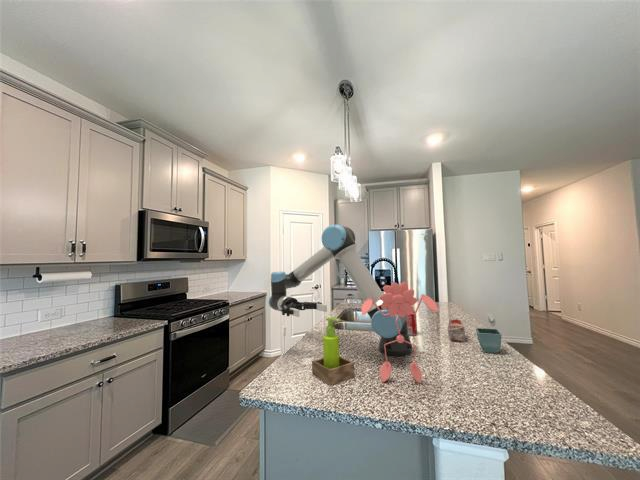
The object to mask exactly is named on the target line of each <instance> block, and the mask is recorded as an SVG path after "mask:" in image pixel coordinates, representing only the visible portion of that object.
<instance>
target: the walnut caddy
mask: <svg viewBox="0 0 640 480" xmlns="http://www.w3.org/2000/svg"><path fill="white" fill-rule="evenodd" d="M311 372H312V373H311V374H312V376H314V377H315V378H317V379H319V380H320V381H322V382H323V383H325V384H327V385H328V386H333V385H336V384H339V383H341V382H343V381H346V380H349V379H352V378H355V363H354V362H353V361H351V360H348V359H347V358H344V357H342V356H341V355H339V367H336V368H333V369H328V368H327V367H325V366H324V357H322V358H317V359H313V360H311Z"/></svg>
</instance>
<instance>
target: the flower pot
mask: <svg viewBox="0 0 640 480" xmlns="http://www.w3.org/2000/svg"><path fill="white" fill-rule="evenodd" d="M475 332H476V337H477V341H478V344H479V346H480V347H481V350H482V351H483V352H484V353H491V354H498V353H499V351H500V350H501V347H502V338H503V337H502V335H503V334H502V333H501V332H500V331H499V330H498V329H497V328H485V327H484V328H483V327H481V328H480V327H476V328H475Z"/></svg>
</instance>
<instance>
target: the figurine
mask: <svg viewBox="0 0 640 480" xmlns="http://www.w3.org/2000/svg"><path fill="white" fill-rule="evenodd" d="M382 289H383V291H384V293H383V295H381V296H380V300H381V301H383V302H382V305H381V308H382V309H388V314H383V312H382V311H381V310H380V309H379V307H378V306H377V305H376V304H375V303H374V301H373V300H372V298H370V299H368V300H366V301H364V303H363V304H362V307H361V308H360V309H361V315H362V316H365V315H366V314H368V313H367V312H368V311H369V310H370V309H371V307H372V305H373V304H374V305H375V306H376V307H377V309H378V310H379V311H380V312H381V313H382V315H384V316H387V315H390V316H391V317H394V316H395V315H396V313H397V314H398V315H397V318H396V322H395V323H396V326H397V329H398V332H399V335H398V336H397V338H396V339H397V340H395V341H397V342H399V343H403V342H404V341H405V340H404V337H403V336H402V335H401V334H400V331H399V327H398V324H397V320H398V317H399V316H400V317H403V318H404V317H405V315H406V314H415V313H416V314H417V312H418V310H419V308H420V305H421V304H422V302H423V303H424V305H425V306H426V307H427V308H428V309H430V310H431V311H434V312H435V313H439V309H438V305H437V303H436V302H435V300H434V299H433V298H432V297H430V296H429V295H426V294H424V293H422V294H421V296H420V299H419V301H418V299H417V297H414V295H415V289H413V288H410V289H409V286H408V284H407V282H406V281H403V282H402V283H400V284H399V283H397V282H392V283H391V285H388V284H387V285H384V286H383V287H382ZM417 303H418V304H417ZM415 304H417V307H416V309H415V308H414V307H413V306H414V305H415ZM414 310H415V313H412V312H414ZM395 341H392V342H395ZM392 342H389V343H386V344H384V348H385V345H387V344H390V343H392ZM405 342H407V341H405ZM407 343H409V342H407ZM409 344H412V346H414V347H413V348H414V349H413V350H414V351H413V362H412V363H410V365H409V367H410V375H411V376H412V377H411V378H413V379H414V380H416V382H418V384H422V377H423V376H422V371H421V369H420V367H419V366H418V364H417V363H416V345H415V344H414V343H412V342H411V343H409ZM384 355H385V361H384V362H383V363H382V365H381V366H380V370H379V371H380V372H379V375H380V376H379V377H380V379H381V381H382V383H384V382H386V381H387V380H388V379H389V378H390V377H391V375H392V364H391V363H390V361H388V358H387V354H386V348H385V354H384ZM371 374H372V373H370V374H369V376H370V375H371ZM432 392H434V390H432V391H430V392H428V393H425V394H421V395H418V397H421V396H424V397H425V396H427V395H429V394H431V393H432ZM389 394H391V395H395V396H397V394H395V393H390V392H389ZM398 396H400V397H403V395H400V394H398ZM413 397H414V395H409V398H413Z"/></svg>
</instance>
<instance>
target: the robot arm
mask: <svg viewBox="0 0 640 480" xmlns="http://www.w3.org/2000/svg"><path fill="white" fill-rule="evenodd" d="M321 243H322V245H323V247H322V248H321V249H319V250H318V251H317V252H315V253H314V254H313V255H311V256H310V257H309V258H308V259H306V260H305V261H303V262H302V263H301V264H300V265H299V266H297V267H295V268H294V270H292V271H291V272H289V273H287V274H286V271H273V272H271V274H270V287H271V288H270V289H271V291H270V292H271V296H270V297H269V299H268V306H269V308H271V309H272V310H275V311H278V312H281V315H282V316H285V315H286V317H290V316H293V317H297V318H299V317H300V315H301V314H300V311H305V310H316V311H320V312H325V313H327V311H328V310H327V309H328V308H327V307H328V306H327V304H323V303H322V302H320V301H317V302H315V301H314V302H311V301H310V302H308V301H304V302H303V301H302V302H300V301H298V299H297V298H295V297H291V296H287V290H288V289H292V288H297V287H299V286H300V285H301V283H302V282H303V281H304V280H306V279H307V278H308V277H310V276H311V275H312V274H314V273H315V272H316V271H318V270H319V269H320V268H322V267H323V266H325V265H326V264H327V263H328V262H330V261H331V260H333V259H336V260H339V261H340V263H341V265H342V266H343V268H344V269H345V271H346V273H347V274H348V277H349V278H350V279H351V281H352V283H353V285H354V286H355V288H356V289H357V291H358V292H359V294H360V296H361V298H362V299H363V301H364V302H365V301H366V300H368V299H370V298H372V300H373V301H374V303H375V304H376V305H377V306H378V307H379V309H380V310H381V311H382V312H383V314H388V309H382V308H381V305H382V302H383V301H381V300H380V296H381V295H383V294H384V293H383V292H382V290H381V288H380V286H379V285H378V283H377V281H376V279H374V277H373V275H372V274H371V272H370V271H369V269H368V268H367V265H366V264H365V262H364V261H363V260H362V258H361V255H360V254H359V253H358V251H357V244H356V234H355V232H354V231H353V230H352V229H351V228H350V227H348V226H344V225H340V224H336V223H335V224H330V225H328V226H327V227H325V229H323V232H322V234H321ZM366 314H367V315H368V316H369V318H370V323H371V328H372V330H373V332H375V334H377V335H378V336H379V337H380V339H379V343H378V350H379V352H380V353H382V354H384V355H385V348H386V356H387V355H388V356H394V357H402V356H403V357H404V356H405V357H406V356H409V355H412V353H414V351H413V350H414V349H413V348H414V347H413V345H412V344H413V343H412V342H411V339H410V336H409V335H408V326H407V314H406V315H405V317H404V318H403V317H400V316H399V317H398V320H397V324H398V327H399V331H400V334H401V335H402V336H403V337H404V340H405V341H407V342H409V343H412V344H409V343H407V342H405V341H404V342H403V343H399V342H397V341H395V340H397V339H396V338H397V336H398V335H399V332H398V329H397V326H396V323H395V322H396V318H397V315H398V314H397V313H396V315H395V316H394V317H391V316H390V315H387V316H384V315H382V313H381V312H380V311H379V310H378V309H377V307H376V306H375V305H374V304H373V305H372V307H371V309H370V310H369V311H368V312H367V313H366ZM392 341H395V342H392ZM389 342H392V343H390V344H387V345H385V348H384V344H386V343H389Z"/></svg>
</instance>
